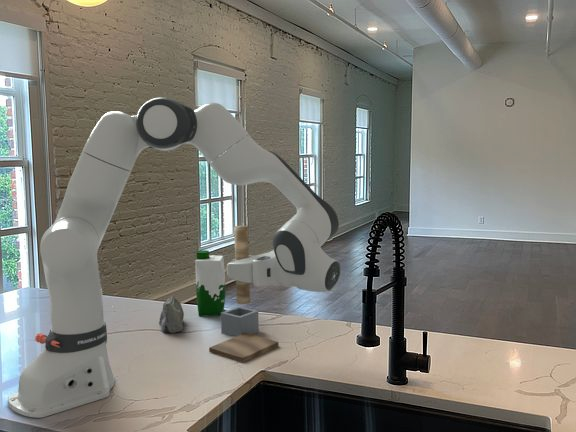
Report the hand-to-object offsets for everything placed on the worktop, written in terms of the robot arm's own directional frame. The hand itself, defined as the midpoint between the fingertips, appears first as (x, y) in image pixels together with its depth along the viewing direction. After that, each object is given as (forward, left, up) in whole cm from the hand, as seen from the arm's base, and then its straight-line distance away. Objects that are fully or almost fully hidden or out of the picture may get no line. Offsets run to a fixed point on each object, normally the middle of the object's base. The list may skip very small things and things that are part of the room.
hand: (239, 260), depth 149 cm
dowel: (0, -1, -11) cm, 11 cm away
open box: (+9, +9, -24) cm, 27 cm away
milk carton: (+17, +29, -24) cm, 41 cm away
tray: (0, -1, -24) cm, 24 cm away
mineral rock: (+1, +28, -24) cm, 37 cm away
